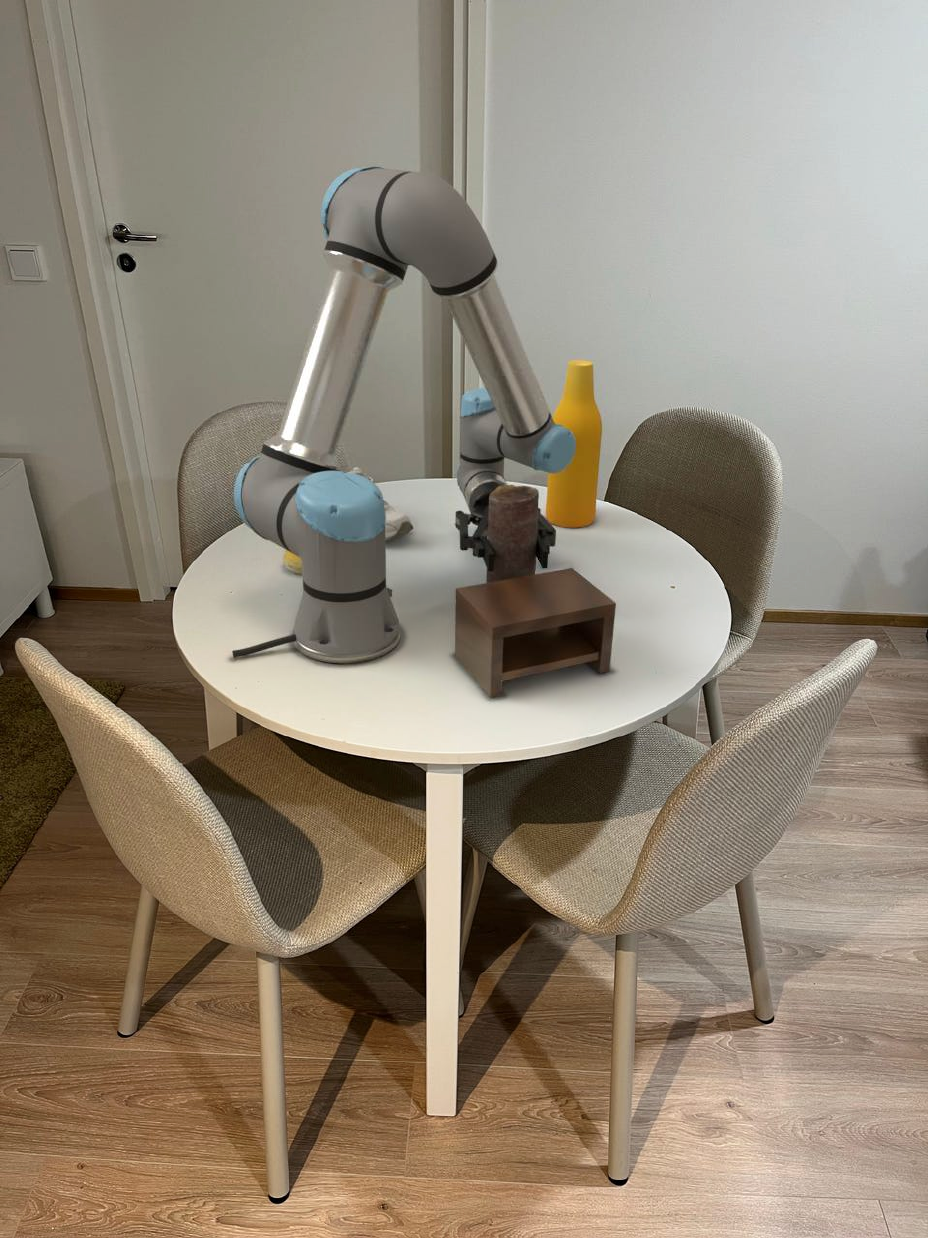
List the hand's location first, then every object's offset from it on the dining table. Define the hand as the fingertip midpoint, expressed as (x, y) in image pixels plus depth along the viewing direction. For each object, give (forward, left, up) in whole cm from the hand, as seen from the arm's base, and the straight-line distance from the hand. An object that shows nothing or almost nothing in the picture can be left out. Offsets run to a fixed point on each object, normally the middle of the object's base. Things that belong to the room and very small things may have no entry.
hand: (518, 561), depth 139 cm
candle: (+1, +5, -11) cm, 12 cm away
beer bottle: (+28, +35, -11) cm, 46 cm away
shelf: (-2, -10, -11) cm, 15 cm away
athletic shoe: (-9, +45, -11) cm, 47 cm away
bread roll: (-22, +33, -11) cm, 41 cm away
